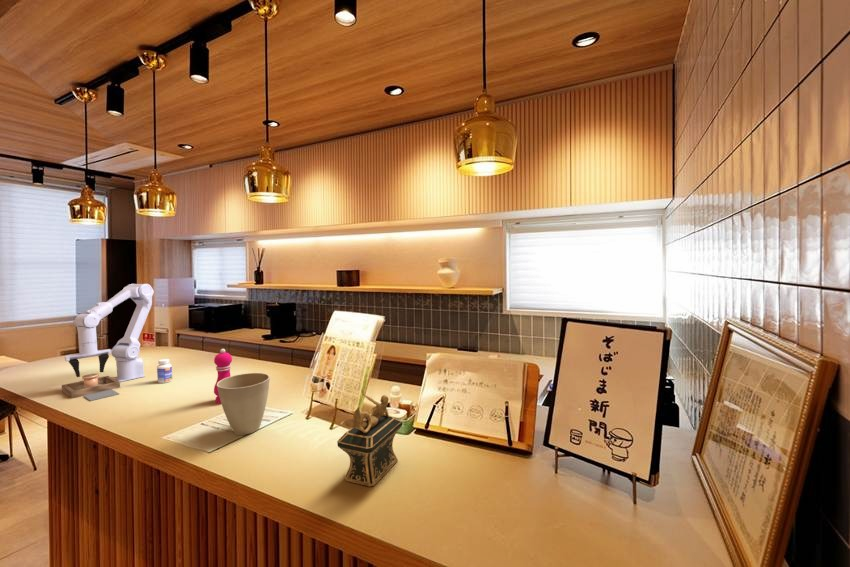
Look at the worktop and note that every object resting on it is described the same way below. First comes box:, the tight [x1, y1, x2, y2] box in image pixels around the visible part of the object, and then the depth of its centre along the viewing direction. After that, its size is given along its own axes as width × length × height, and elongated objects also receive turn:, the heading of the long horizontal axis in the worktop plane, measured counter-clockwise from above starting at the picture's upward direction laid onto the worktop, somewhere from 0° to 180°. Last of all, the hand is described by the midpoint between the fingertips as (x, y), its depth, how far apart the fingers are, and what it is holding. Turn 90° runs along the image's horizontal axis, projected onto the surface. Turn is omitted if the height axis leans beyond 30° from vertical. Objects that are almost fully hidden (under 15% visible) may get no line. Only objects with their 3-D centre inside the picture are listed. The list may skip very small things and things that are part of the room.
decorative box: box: [336, 388, 403, 488], centre depth 94 cm, size 20×10×20 cm, turn 157°
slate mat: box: [83, 389, 120, 402], centre depth 154 cm, size 9×9×1 cm
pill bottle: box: [156, 358, 173, 384], centre depth 170 cm, size 5×5×10 cm
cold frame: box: [61, 375, 121, 399], centre depth 161 cm, size 15×15×2 cm
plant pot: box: [217, 372, 271, 436], centre depth 119 cm, size 15×15×16 cm
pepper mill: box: [213, 348, 233, 405], centre depth 145 cm, size 7×7×20 cm
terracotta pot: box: [81, 373, 100, 389], centre depth 161 cm, size 5×5×6 cm
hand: (90, 374), depth 161 cm, fingers open, 7 cm apart
